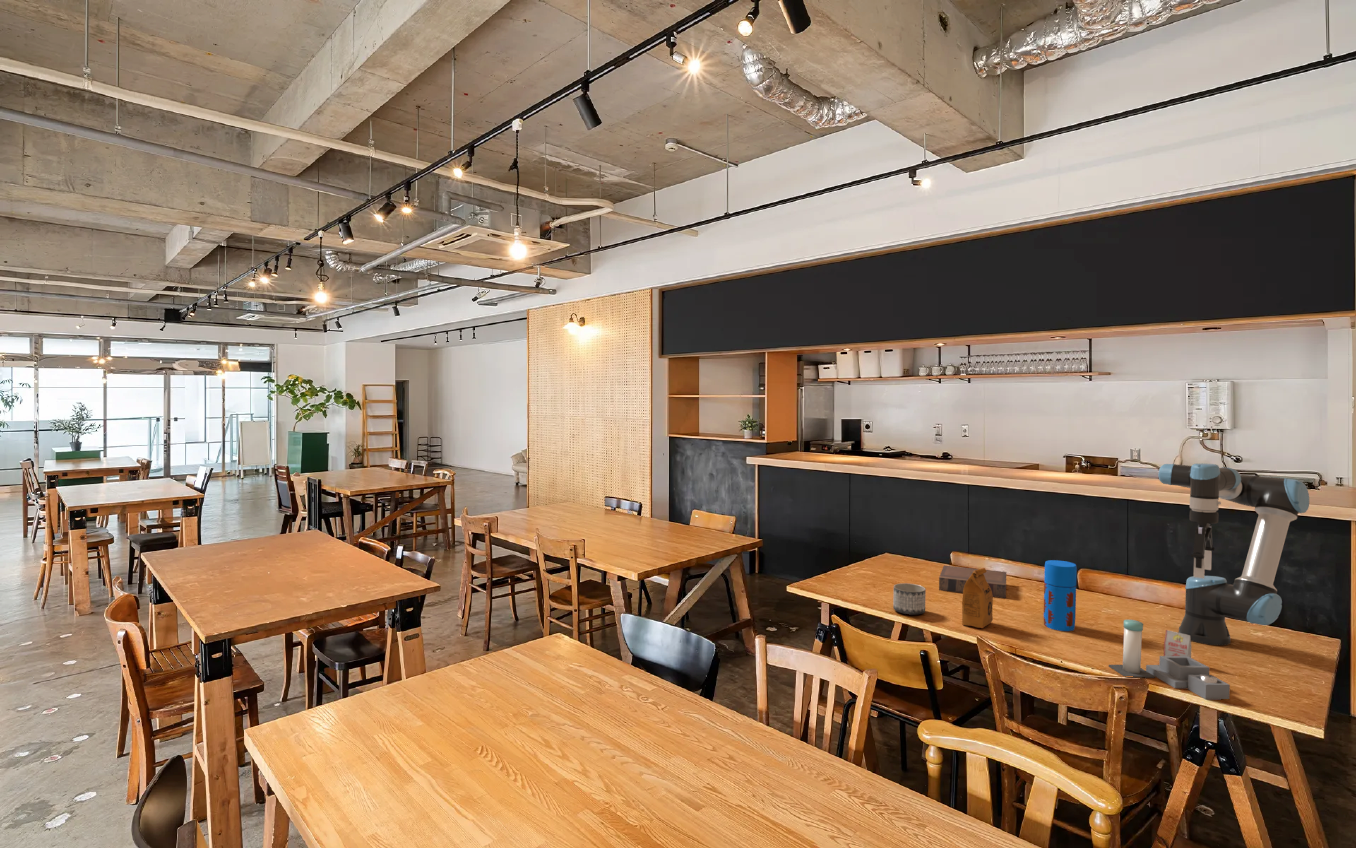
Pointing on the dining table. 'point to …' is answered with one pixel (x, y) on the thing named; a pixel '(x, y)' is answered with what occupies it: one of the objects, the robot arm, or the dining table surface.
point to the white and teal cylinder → (1132, 646)
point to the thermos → (1060, 595)
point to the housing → (1188, 676)
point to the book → (957, 577)
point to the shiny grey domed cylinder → (1208, 678)
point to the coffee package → (977, 601)
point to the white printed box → (1177, 644)
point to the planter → (909, 598)
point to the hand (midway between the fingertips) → (1202, 573)
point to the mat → (1142, 673)
